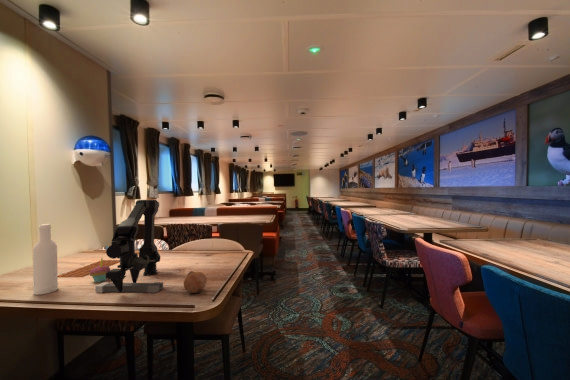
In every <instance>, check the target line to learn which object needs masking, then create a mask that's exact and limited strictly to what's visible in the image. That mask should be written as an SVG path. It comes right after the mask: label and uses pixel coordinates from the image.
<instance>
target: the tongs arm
mask: <svg viewBox="0 0 570 380" xmlns="http://www.w3.org/2000/svg"><path fill="white" fill-rule="evenodd" d="M109 284H113V282H110V283H109ZM123 284H160V290H159V291H161V290H162V289H164V281H154V282H136V283H133V282H123Z"/></svg>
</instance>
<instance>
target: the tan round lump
mask: <svg viewBox="0 0 570 380" xmlns="http://www.w3.org/2000/svg"><path fill="white" fill-rule="evenodd" d="M206 276H207V275H206V274H204V273H203V272H202V271H193V270H191V271H189V273H187V274H186V276H185V278H184V280H183V288H184V290H185V291H186V292H187V293H191V294H200V293H201V292H202V291H203V290H204V288H205V287H206V285H207V282H208V281H207V277H206Z"/></svg>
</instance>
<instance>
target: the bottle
mask: <svg viewBox="0 0 570 380" xmlns="http://www.w3.org/2000/svg"><path fill="white" fill-rule="evenodd" d="M38 226H39V227H38V231H39V233H38V234H39V236H38V237H39V240H38V241H37V242H36V243H34V245H33V248H32V275H33V276H32V281H33V285H32V290H33V295H35V296H39V295H45V294H49V293H53V292H55V291H57V290H58V287H59V285H58V284H59V281H58V278H59V277H58V245H57V243H56V241H54V240H53V239H52V238H51V237H52V234H51V231H52V230H51V229H52V226H51V223H44V224H39V225H38Z"/></svg>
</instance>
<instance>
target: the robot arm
mask: <svg viewBox="0 0 570 380" xmlns="http://www.w3.org/2000/svg"><path fill="white" fill-rule="evenodd" d="M159 208H160V201H158V199H138V200H136V201H135V204H134V207H133V208H132V209H131V212H130V213H129V215H128V217H127V218H126V219H124V220H122V221H121V222H120V223H119V224H118V225H117V227H116V229H115V232H114V234H113V235H112V236H113V237H112V239H111V245H108V247H107V248H106V251H105V253H106V255H107V257H108V259H109V258H110V259H111V260H116V259H119V260H120V262H119V264H118V265H117V268H112V269H110V271H108V272H107V273H106V280H107V279H108V280H110V282H111V283H113V284H114V285H115V287H116V288H117V290H118V291H119V293H123V292H122V288H123V283H124V279H126V277H127V276H126V274H127V271H129V273H130V277H131V281H132V283H138V278H139V276H140V273H141V271H142V270H144V271H143V277H145V276H150V275H151V276H152V275H157V274H158V269H157V263H159V262H161V255H160V253H159V252H158V246H157V245H156V244H155V219H156V218H155V216H156V215H157V214H158V212H159ZM143 216H144V217H143ZM142 217H143V218H144V220H143V221H144V222H143V224H144V225H143V226H144V227H143V244H142V245H141V247H139V250H138V253H137V252H136V246H135V245H136V244H135V243H136V242H135V241H137V238H136V236H137V235H138V233H139V225H138V224H139V223H140V221H141V218H142Z"/></svg>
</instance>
